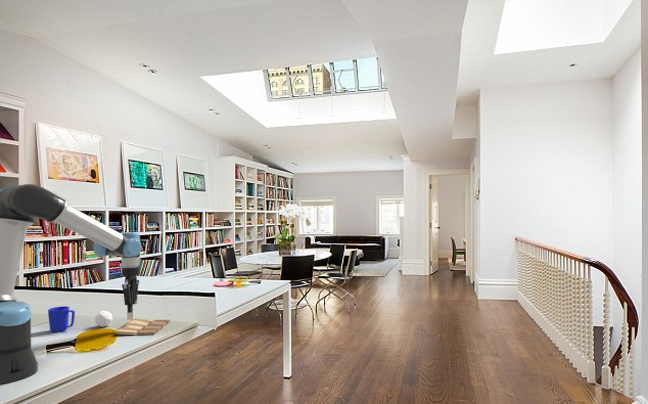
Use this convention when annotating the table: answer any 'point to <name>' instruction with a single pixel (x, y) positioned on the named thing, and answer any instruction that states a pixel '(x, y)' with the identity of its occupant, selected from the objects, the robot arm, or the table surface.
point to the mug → (60, 318)
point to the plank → (133, 326)
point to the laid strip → (154, 327)
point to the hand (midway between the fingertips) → (131, 319)
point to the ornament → (103, 318)
